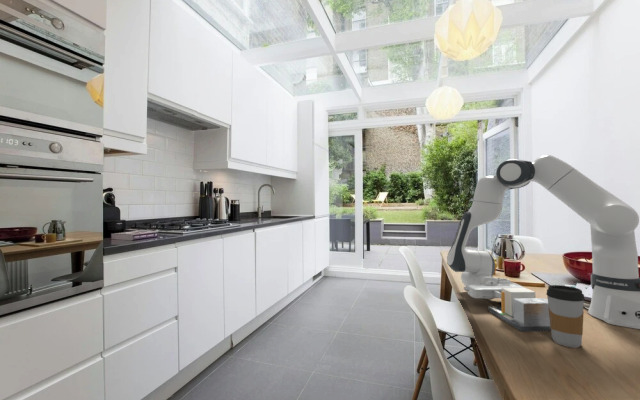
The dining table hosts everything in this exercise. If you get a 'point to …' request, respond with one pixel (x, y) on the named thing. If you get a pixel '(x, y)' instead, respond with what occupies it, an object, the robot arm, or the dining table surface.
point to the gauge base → (526, 314)
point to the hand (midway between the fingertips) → (508, 297)
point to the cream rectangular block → (512, 293)
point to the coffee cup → (566, 314)
